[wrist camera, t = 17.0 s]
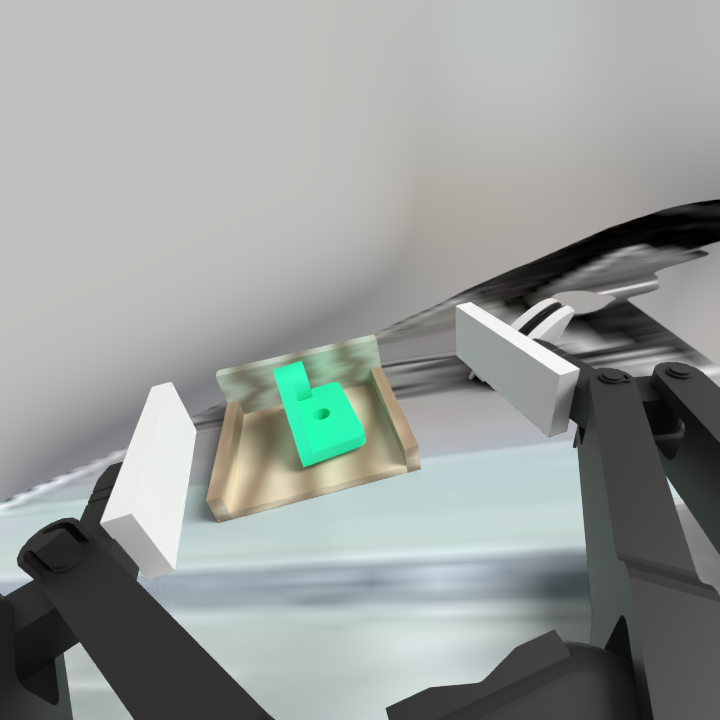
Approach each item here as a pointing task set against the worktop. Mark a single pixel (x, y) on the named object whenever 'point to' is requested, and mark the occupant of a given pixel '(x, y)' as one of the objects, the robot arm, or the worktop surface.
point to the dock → (276, 442)
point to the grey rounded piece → (541, 323)
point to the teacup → (699, 547)
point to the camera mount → (318, 416)
